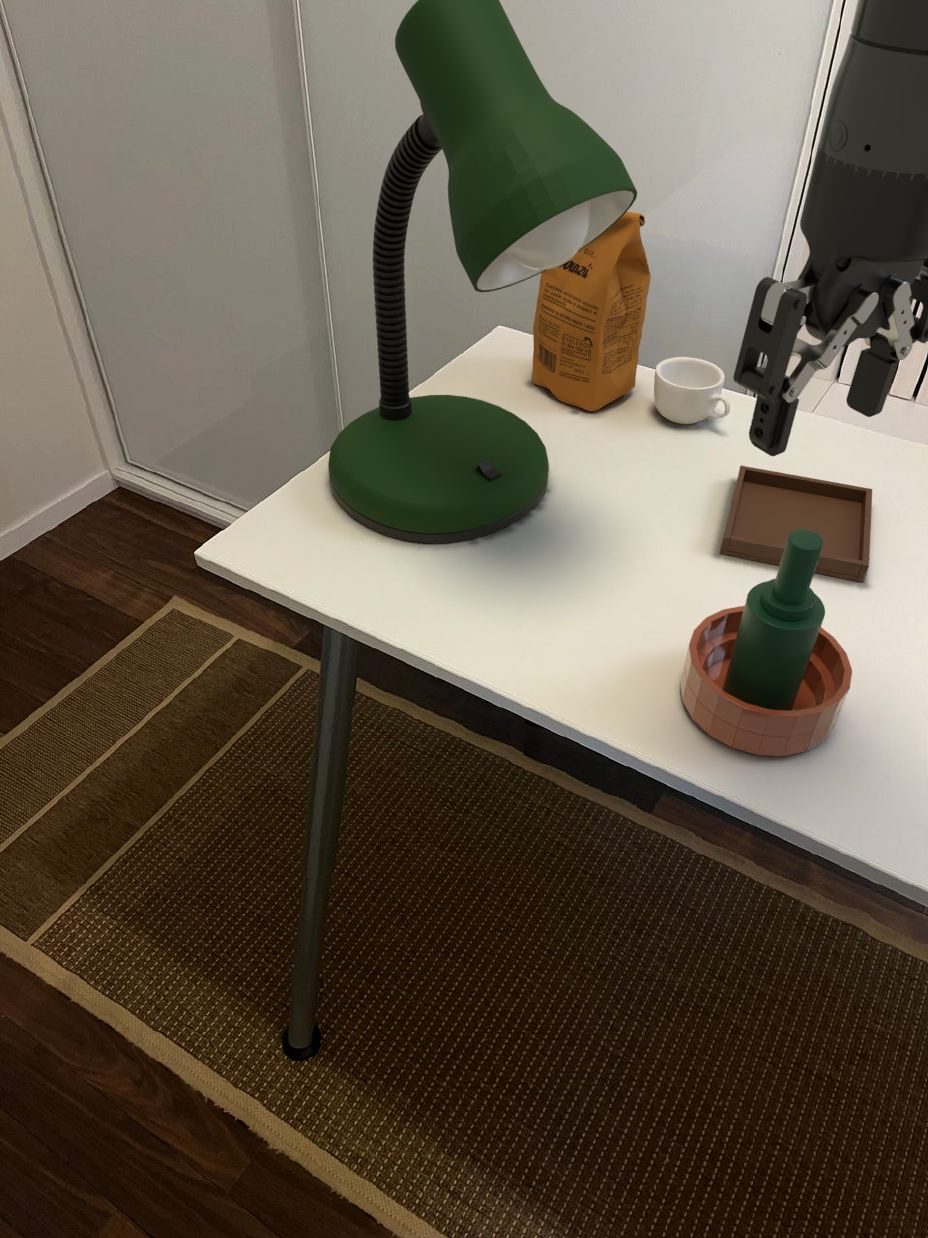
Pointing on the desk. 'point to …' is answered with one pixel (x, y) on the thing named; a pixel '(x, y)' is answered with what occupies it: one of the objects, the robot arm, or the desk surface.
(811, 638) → the bottle
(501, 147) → the desk lamp
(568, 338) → the coffee package
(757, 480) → the tray
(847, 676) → the bowl
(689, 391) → the teacup
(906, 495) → the desk surface
